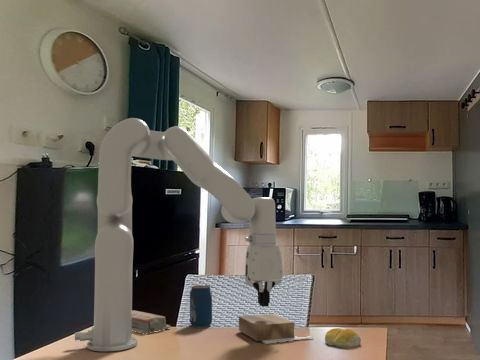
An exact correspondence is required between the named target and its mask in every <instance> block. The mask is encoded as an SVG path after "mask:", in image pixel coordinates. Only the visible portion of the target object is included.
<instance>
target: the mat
mask: <svg viewBox="0 0 480 360" xmlns="http://www.w3.org/2000/svg"><path fill="white" fill-rule="evenodd" d="M309 338H313V339H314V337H313V336H311V335H309V336H307V337H297V336H295V337H294V338H284V339H274V340H264V341H261V342H262V343H263V344H266V345H267V344H269V345H270V344H278V343H277V342H279V343H287V342H286V341H289V342H294V341H293V340H299V339H309ZM309 340H310V339H309ZM299 341H300V340H299Z"/></svg>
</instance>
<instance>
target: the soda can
mask: <svg viewBox="0 0 480 360" xmlns="http://www.w3.org/2000/svg"><path fill="white" fill-rule="evenodd" d="M212 322H213V292H212V290H211V286H210V285H193V286H191V289H190V292H189V323H190V325H191V326H192V327H193V328H203V329H204V328H208V327H210V326H211V324H212Z"/></svg>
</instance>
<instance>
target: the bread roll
mask: <svg viewBox="0 0 480 360" xmlns="http://www.w3.org/2000/svg"><path fill="white" fill-rule="evenodd" d="M324 339H325V340H324V341H325V344H327V345H329V346H332V347H336V348H337V347H338V348H345V349H347V348H355V347H358V346H360V345H361V342H362V341H361V340H362V338H361V337H360V335H359V334H358V333H357V332H356V331H354V330H353V329H350V328H346V329H343V328H340V327H336V328H331V329H329V330H327V332H326V333H325V335H324Z"/></svg>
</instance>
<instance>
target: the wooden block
mask: <svg viewBox="0 0 480 360" xmlns="http://www.w3.org/2000/svg"><path fill="white" fill-rule="evenodd" d="M294 329H295V322H294V321H292V320H290V319H287V318H284V317H282V316H279V315H277V314H275V313H265V314H253V315H241V316H238V331H239V332H241V333H243V334H244V335H246V336H248V337H249V338H251V339H252V340H255V341H256V342H262V341H264V340H274V339H284V338H294V337H295V331H294Z"/></svg>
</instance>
